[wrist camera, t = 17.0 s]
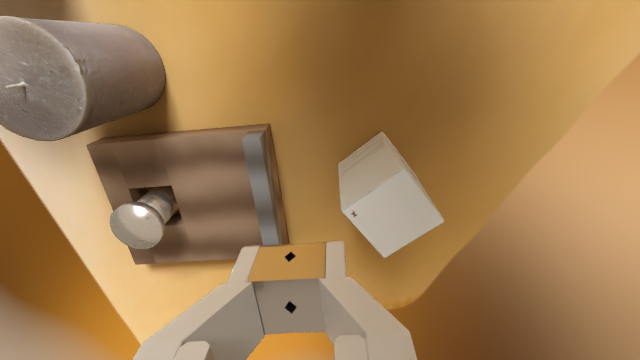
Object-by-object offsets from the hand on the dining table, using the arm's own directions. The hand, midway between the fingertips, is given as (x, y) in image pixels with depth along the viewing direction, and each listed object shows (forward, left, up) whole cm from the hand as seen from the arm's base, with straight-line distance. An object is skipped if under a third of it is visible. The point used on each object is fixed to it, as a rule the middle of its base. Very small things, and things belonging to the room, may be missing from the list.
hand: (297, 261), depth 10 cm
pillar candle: (-5, -23, -31) cm, 39 cm away
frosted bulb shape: (+12, -23, -31) cm, 40 cm away
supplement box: (+10, +6, -31) cm, 33 cm away
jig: (+12, -18, -31) cm, 38 cm away
